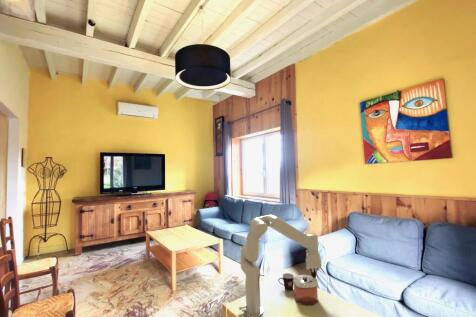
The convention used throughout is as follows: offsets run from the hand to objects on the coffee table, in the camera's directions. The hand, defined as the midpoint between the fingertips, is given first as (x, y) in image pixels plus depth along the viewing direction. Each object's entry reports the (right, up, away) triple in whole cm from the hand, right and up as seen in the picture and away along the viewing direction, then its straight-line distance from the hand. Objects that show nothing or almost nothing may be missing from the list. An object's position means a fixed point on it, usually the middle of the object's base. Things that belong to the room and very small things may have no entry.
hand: (313, 277), depth 172 cm
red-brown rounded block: (-6, -15, -1) cm, 16 cm away
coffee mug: (-16, -16, +14) cm, 27 cm away
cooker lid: (-7, -3, -1) cm, 7 cm away
